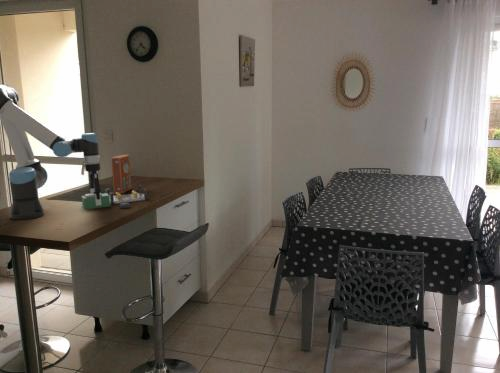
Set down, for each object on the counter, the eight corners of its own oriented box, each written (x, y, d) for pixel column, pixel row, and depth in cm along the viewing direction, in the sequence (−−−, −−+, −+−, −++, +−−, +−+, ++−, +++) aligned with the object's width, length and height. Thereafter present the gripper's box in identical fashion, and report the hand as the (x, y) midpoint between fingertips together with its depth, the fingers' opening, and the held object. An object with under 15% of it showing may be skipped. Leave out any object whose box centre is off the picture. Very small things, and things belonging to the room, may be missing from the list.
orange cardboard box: (133, 188, 287) (122, 193, 272) (123, 188, 288) (111, 193, 274) (131, 154, 282) (119, 158, 268) (120, 154, 284) (108, 158, 269)
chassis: (111, 204, 248) (110, 193, 246) (106, 199, 259) (105, 189, 258) (147, 199, 257) (147, 189, 256) (141, 195, 268) (140, 185, 267)
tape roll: (121, 209, 238) (120, 205, 237) (119, 207, 242) (118, 203, 242) (130, 208, 240) (130, 204, 239) (128, 206, 244) (128, 202, 244)
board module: (84, 209, 238) (83, 196, 236) (82, 206, 244) (81, 194, 242) (110, 206, 244) (109, 193, 242) (107, 203, 250) (106, 191, 248)
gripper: (104, 165, 230) (108, 206, 234) (95, 159, 251) (99, 197, 256) (88, 167, 226) (93, 208, 231) (81, 160, 248) (85, 199, 252)
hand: (96, 202), depth 243 cm, fingers open, 13 cm apart
